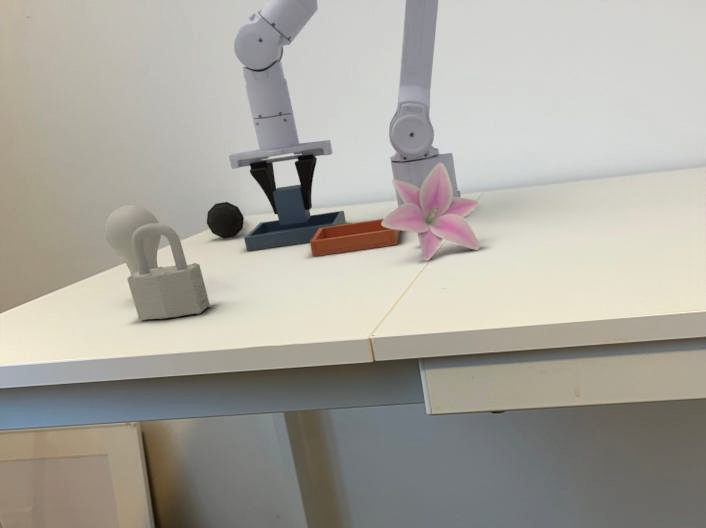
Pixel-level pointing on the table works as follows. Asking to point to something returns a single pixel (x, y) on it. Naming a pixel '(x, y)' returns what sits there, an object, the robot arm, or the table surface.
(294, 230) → the slate tray
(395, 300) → the table surface
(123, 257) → the lightbulb
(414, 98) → the robot arm
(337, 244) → the terracotta tray
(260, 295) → the table surface
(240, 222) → the faceted black orb
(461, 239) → the lily
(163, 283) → the padlock
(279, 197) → the blue block
